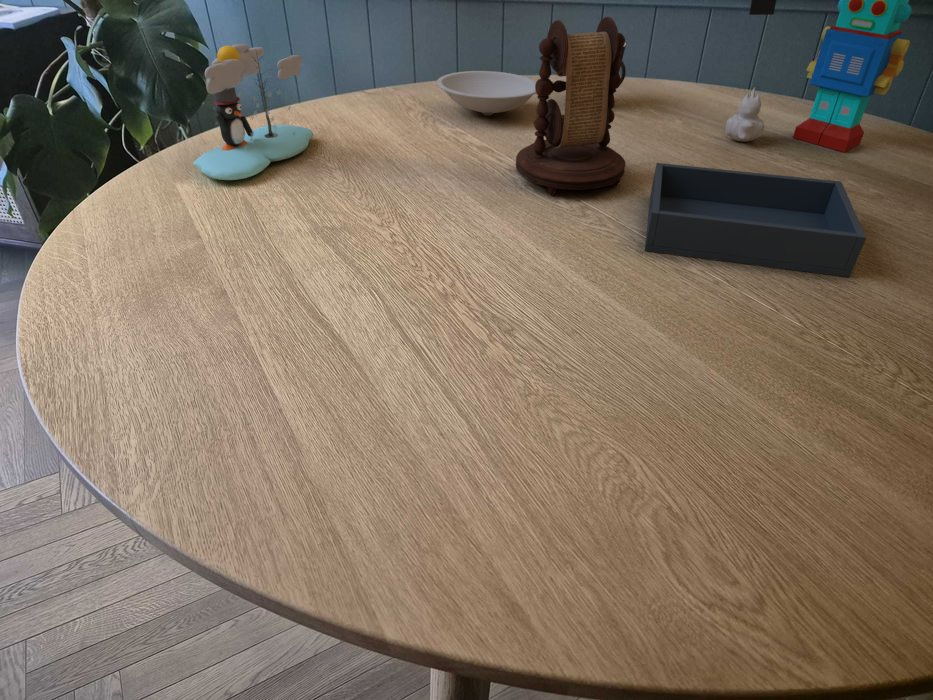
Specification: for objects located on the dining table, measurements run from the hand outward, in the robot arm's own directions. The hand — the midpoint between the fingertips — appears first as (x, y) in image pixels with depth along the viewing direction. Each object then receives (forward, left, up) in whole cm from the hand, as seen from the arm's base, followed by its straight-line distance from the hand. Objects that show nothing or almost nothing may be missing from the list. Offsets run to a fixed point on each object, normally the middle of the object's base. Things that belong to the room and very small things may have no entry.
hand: (757, 6), depth 85 cm
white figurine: (-3, -8, -20) cm, 22 cm away
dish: (+38, -10, -20) cm, 44 cm away
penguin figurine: (+65, +19, -20) cm, 71 cm away
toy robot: (-16, -12, -20) cm, 29 cm away
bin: (-1, +24, -20) cm, 32 cm away
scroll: (+21, +13, -20) cm, 32 cm away
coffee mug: (+21, -19, -20) cm, 35 cm away
